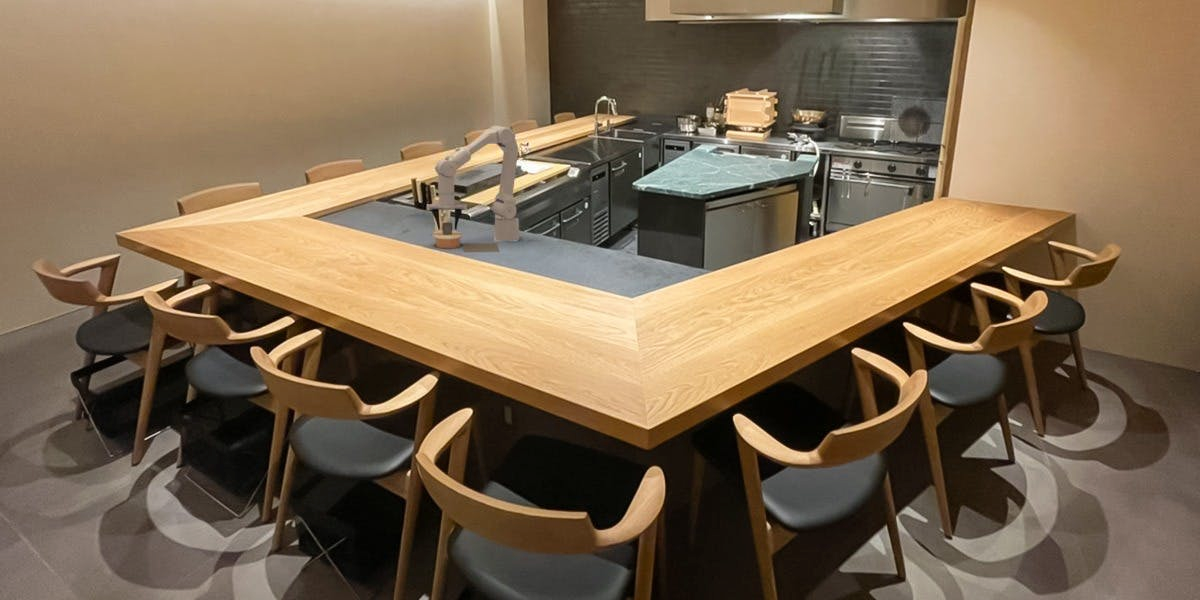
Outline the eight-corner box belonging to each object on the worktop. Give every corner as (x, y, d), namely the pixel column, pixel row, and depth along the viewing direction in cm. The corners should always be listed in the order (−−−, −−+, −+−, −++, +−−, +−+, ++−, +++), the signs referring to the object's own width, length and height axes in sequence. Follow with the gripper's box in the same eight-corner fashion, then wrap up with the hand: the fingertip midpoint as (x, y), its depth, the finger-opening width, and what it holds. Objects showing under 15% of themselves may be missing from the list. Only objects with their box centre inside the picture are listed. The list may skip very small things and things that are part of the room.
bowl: (459, 243, 258) (459, 233, 257) (460, 248, 250) (459, 238, 249) (436, 243, 256) (435, 233, 255) (435, 249, 248) (435, 238, 247)
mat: (496, 244, 260) (496, 243, 259) (499, 252, 248) (499, 251, 247) (462, 244, 257) (462, 243, 256) (463, 253, 245) (463, 251, 244)
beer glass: (453, 234, 272) (452, 197, 268) (448, 238, 266) (447, 200, 261) (436, 233, 273) (435, 196, 268) (430, 236, 266) (429, 199, 261)
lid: (461, 232, 258) (461, 220, 257) (463, 239, 248) (463, 226, 246) (432, 232, 255) (431, 220, 254) (432, 239, 245) (432, 226, 244)
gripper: (425, 194, 241) (427, 231, 246) (466, 194, 245) (467, 231, 249) (426, 191, 248) (427, 227, 252) (466, 191, 251) (466, 227, 255)
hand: (447, 229), depth 251 cm, fingers open, 5 cm apart
